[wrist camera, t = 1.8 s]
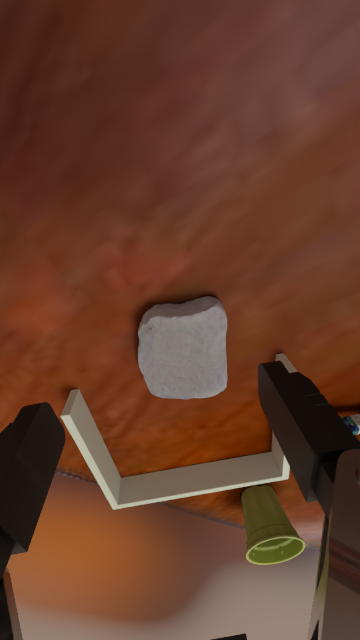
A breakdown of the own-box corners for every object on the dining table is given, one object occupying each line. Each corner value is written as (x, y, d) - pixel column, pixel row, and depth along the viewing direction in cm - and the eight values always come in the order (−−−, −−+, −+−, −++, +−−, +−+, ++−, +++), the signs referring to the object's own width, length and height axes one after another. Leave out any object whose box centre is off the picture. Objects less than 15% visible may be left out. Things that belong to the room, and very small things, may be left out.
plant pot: (221, 497, 47) (234, 557, 39) (260, 471, 44) (281, 532, 36) (253, 510, 50) (270, 568, 43) (291, 488, 48) (316, 546, 40)
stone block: (152, 376, 34) (227, 377, 33) (143, 403, 30) (228, 405, 29) (136, 295, 29) (225, 291, 27) (123, 314, 25) (227, 310, 23)
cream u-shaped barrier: (71, 390, 32) (60, 416, 28) (283, 353, 32) (299, 374, 28) (116, 482, 42) (113, 509, 38) (277, 454, 42) (288, 479, 38)
